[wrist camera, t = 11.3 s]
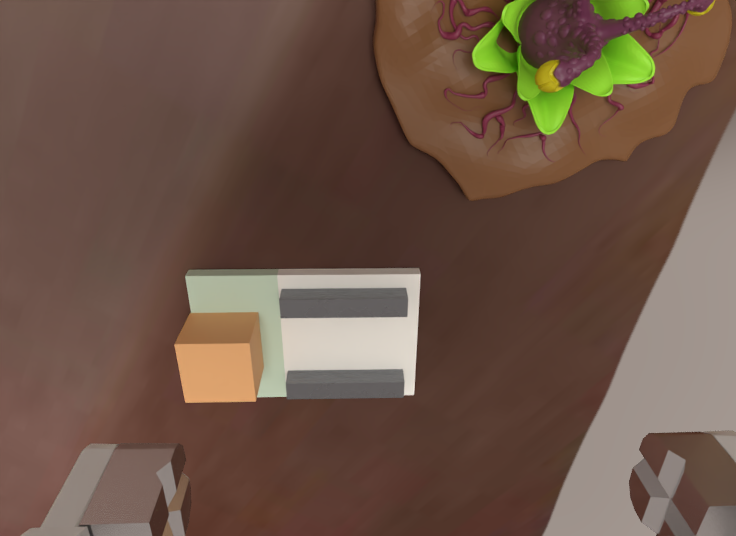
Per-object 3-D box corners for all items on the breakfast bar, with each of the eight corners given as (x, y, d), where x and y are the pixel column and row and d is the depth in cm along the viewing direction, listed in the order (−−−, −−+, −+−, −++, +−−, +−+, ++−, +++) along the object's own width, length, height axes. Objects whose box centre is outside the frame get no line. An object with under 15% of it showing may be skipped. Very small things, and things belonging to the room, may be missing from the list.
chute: (419, 267, 40) (423, 284, 38) (412, 386, 45) (416, 408, 43) (188, 269, 40) (178, 287, 38) (208, 389, 45) (200, 411, 43)
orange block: (258, 312, 41) (249, 343, 37) (263, 367, 43) (256, 401, 39) (189, 312, 41) (174, 344, 37) (199, 368, 43) (185, 402, 39)
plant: (307, -41, 32) (288, -54, 22) (634, -268, 28) (795, -413, 18) (461, 233, 40) (498, 315, 30) (732, 88, 36) (881, 127, 26)
